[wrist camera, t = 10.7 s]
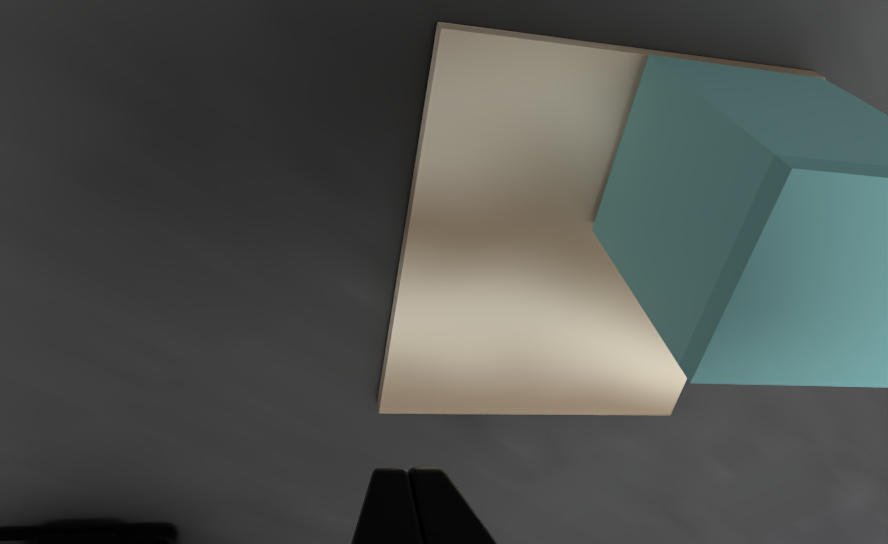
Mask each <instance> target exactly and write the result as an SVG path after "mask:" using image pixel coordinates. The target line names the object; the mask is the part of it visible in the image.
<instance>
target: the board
mask: <svg viewBox="0 0 888 544" xmlns="http://www.w3.org/2000/svg"><path fill="white" fill-rule="evenodd" d="M649 55H656V56H663V57H671V58H678V59H686V60H693V61H700V62H708V63H715V64H723V65H730V66H737V67H745V68H752V69H760V70H767V71H774V72H782V73H789V74H797V75H804V76H811V77H819V78H824V79H825V80H826V78H825V77H823V76H822V75H820V74H818V73H816V72H815V71H809V70H802V69H794V68H787V67H779V66H771V65H764V64H756V63H749V62H741V61H733V60H726V59H718V58H711V57H703V56H695V55H688V54H680V53H673V52H665V51H657V50H650V49H642V48H635V47H627V46H619V45H612V44H604V43H597V42H589V41H581V40H574V39H566V38H559V37H551V36H543V35H536V34H528V33H521V32H513V31H505V30H498V29H490V28H483V27H475V26H467V25H460V24H452V23H445V22H437V28H436V34H435V41H434V47H433V53H432V60H431V66H430V72H429V78H428V85H427V91H426V97H425V104H424V110H423V116H422V123H421V129H420V135H419V142H418V148H417V154H416V160H415V167H414V173H413V179H412V186H411V192H410V198H409V205H408V211H407V217H406V224H405V230H404V236H403V242H402V249H401V255H400V261H399V268H398V274H397V280H396V287H395V293H394V299H393V306H392V312H391V318H390V324H389V331H388V337H387V343H386V350H385V356H384V362H383V369H382V375H381V381H380V388H379V394H378V400H377V402H378V411H379V414H542V415H670V414H671V412H672V410H673V408H674V406H675V404H676V401H677V399H678V397H679V395H680V393H681V391H682V389H683V386H684V384H685V382H686V380H687V377H686V376H685V374H684V373H683V371H682V369H681V368H680V366H679V365H678V363H677V362H676V360H675V359H674V357H673V355H672V354H671V352H670V351H669V349H668V348H667V346H666V344H665V343H664V341H663V340H662V338H661V337H660V335H659V334H658V332H657V330H656V329H655V327H654V326H653V324H652V323H651V321H650V320H649V318H648V316H647V315H646V313H645V312H644V310H643V309H642V307H641V305H640V304H639V302H638V301H637V299H636V298H635V296H634V295H633V293H632V291H631V290H630V288H629V287H628V285H627V284H626V282H625V281H624V279H623V277H622V276H621V274H620V273H619V271H618V270H617V268H616V266H615V265H614V263H613V262H612V260H611V259H610V257H609V256H608V254H607V252H606V251H605V249H604V248H603V246H602V245H601V243H600V242H599V240H598V238H597V237H596V235H595V234H594V232H593V231H592V228H593V225H594V222H595V219H596V216H597V213H598V209H599V206H600V203H601V200H602V197H603V194H604V191H605V188H606V185H607V182H608V179H609V176H610V173H611V170H612V167H613V163H614V160H615V157H616V154H617V151H618V148H619V145H620V142H621V139H622V136H623V133H624V130H625V127H626V124H627V121H628V118H629V114H630V111H631V108H632V105H633V102H634V99H635V96H636V93H637V90H638V87H639V84H640V81H641V78H642V75H643V72H644V68H645V65H646V62H647V59H648V56H649Z"/></svg>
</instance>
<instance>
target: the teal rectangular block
mask: <svg viewBox="0 0 888 544" xmlns="http://www.w3.org/2000/svg"><path fill="white" fill-rule="evenodd" d="M592 231H593V232H594V234H595V235H596V237H597V238H598V240H599V242H600V243H601V245H602V246H603V248H604V249H605V251H606V252H607V254H608V256H609V257H610V259H611V260H612V262H613V263H614V265H615V266H616V268H617V270H618V271H619V273H620V274H621V276H622V277H623V279H624V281H625V282H626V284H627V285H628V287H629V288H630V290H631V291H632V293H633V295H634V296H635V298H636V299H637V301H638V302H639V304H640V305H641V307H642V309H643V310H644V312H645V313H646V315H647V316H648V318H649V320H650V321H651V323H652V324H653V326H654V327H655V329H656V330H657V332H658V334H659V335H660V337H661V338H662V340H663V341H664V343H665V344H666V346H667V348H668V349H669V351H670V352H671V354H672V355H673V357H674V359H675V360H676V362H677V363H678V365H679V366H680V368H681V369H682V371H683V373H684V374H685V376H686V377H687V379H688V380H689V382H690V383H702V384H749V385H796V386H844V387H888V115H886V114H885V113H883V112H881V111H879V110H878V109H876V108H874V107H872V106H871V105H869V104H867V103H865V102H864V101H862V100H860V99H858V98H857V97H855V96H853V95H851V94H850V93H848V92H846V91H844V90H843V89H841V88H839V87H838V86H836V85H834V84H832V83H831V82H829V81H827V80H825V79H824V78H819V77H811V76H804V75H797V74H789V73H782V72H774V71H767V70H760V69H752V68H745V67H737V66H730V65H723V64H715V63H708V62H700V61H693V60H686V59H678V58H671V57H663V56H656V55H649V56H648V59H647V62H646V65H645V68H644V72H643V75H642V78H641V81H640V84H639V87H638V90H637V93H636V96H635V99H634V102H633V105H632V108H631V111H630V114H629V118H628V121H627V124H626V127H625V130H624V133H623V136H622V139H621V142H620V145H619V148H618V151H617V154H616V157H615V160H614V163H613V167H612V170H611V173H610V176H609V179H608V182H607V185H606V188H605V191H604V194H603V197H602V200H601V203H600V206H599V209H598V213H597V216H596V219H595V222H594V225H593V228H592Z"/></svg>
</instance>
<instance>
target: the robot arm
mask: <svg viewBox="0 0 888 544" xmlns="http://www.w3.org/2000/svg"><path fill="white" fill-rule="evenodd" d="M0 544H178V534H177V532H176V531H175V530H174V529H172V528H169V527H141V528H105V529H69V530H33V531H0ZM351 544H498V543H497V542H496V541H495V539H494V538H493V537H492V535H491V534H490V533H489V531H488V530H487V528H486V527H485V526H484V524H483V523H482V522H481V520H480V519H479V518H478V516H477V515H476V513H475V512H474V511H473V509H472V508H471V507H470V505H469V504H468V502H467V501H466V500H465V498H464V497H463V496H462V494H461V493H460V492H459V490H458V489H457V487H456V486H455V485H454V483H453V482H452V481H451V479H450V478H449V476H448V475H447V474H446V473H445V471H444V470H442V469H441V468H437V467H414V468H411V469H410V470H409V471H408V472H407V470H406V469H404V468H377V469H375V470H374V471H373V473H372V476H371V479H370V482H369V486H368V489H367V493H366V496H365V499H364V503H363V506H362V509H361V513H360V516H359V520H358V523H357V526H356V530H355V533H354V536H353V540H352V543H351Z"/></svg>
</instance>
